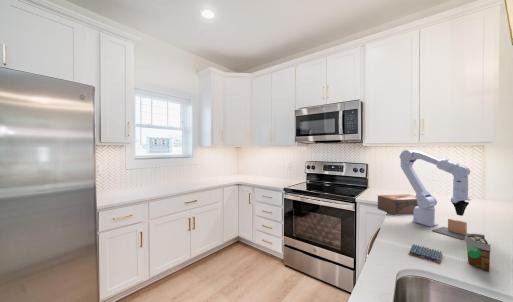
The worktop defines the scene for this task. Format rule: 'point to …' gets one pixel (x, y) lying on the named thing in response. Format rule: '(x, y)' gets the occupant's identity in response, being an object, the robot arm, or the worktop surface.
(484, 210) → the worktop surface
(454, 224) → the tile
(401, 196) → the tissue box cover
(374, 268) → the worktop surface
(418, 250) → the spiky blue-grey pad
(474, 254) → the food container
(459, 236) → the mat
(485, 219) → the worktop surface
